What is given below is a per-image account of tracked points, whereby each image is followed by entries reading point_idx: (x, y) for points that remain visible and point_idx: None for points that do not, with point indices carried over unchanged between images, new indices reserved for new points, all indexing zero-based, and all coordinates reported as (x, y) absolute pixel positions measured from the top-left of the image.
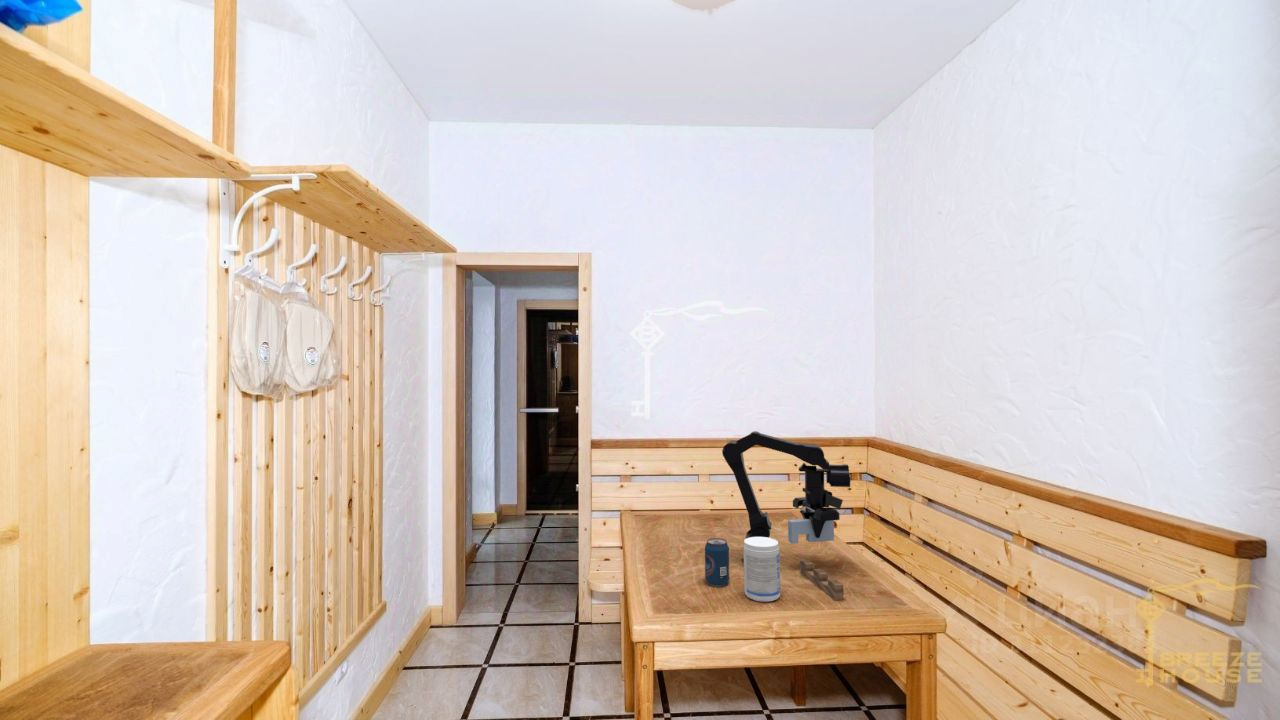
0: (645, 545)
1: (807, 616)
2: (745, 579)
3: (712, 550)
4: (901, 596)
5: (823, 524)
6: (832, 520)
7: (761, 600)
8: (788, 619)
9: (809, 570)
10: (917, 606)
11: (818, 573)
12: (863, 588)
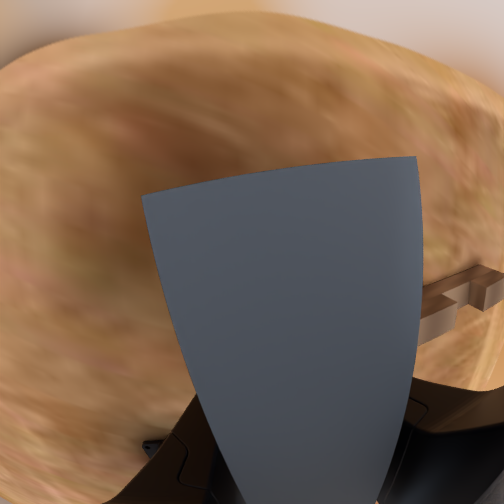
0: None
1: (492, 353)
2: None
3: None
4: (469, 94)
5: (443, 391)
6: (399, 195)
7: None
8: (485, 382)
9: None
10: (499, 103)
11: (444, 332)
12: (438, 165)
